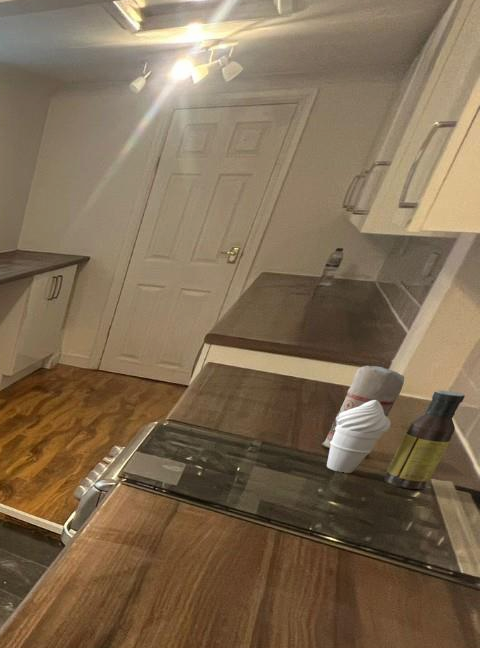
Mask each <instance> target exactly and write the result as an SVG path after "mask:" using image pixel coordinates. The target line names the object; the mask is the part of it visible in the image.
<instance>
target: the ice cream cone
mask: <svg viewBox="0 0 480 648" xmlns="http://www.w3.org/2000/svg"><path fill="white" fill-rule="evenodd" d="M335 420H336V421H337V423H336V424H337V426H336V428H335V430H336V431H335V433H334V436H333V439H332V441H331V442H330V444H331V446H330V448H329V451H328V457H327V461H326V467H327V469H330V470H331V471H334V472H337V471H338V473H342V472H344V473H343V474H351V473H353V472H354V471H355V470H356V469H357V467H358V466H359V465H360V464H361V463H362V462H363V461H364V459H366V457H367V456H368V455H369V454H370V453H372V451H373V450H372V449H373V448H374V447H375V445H376V444H377V442H378V440H380V439H381V438H382V436H383V435H384V434H385V433H387V432H388V431H389V430H390V427H391V425H392V424H391V423H392V422H391V420H390V419H389V417H388V416H387V417H386V416H385V415H384V411H383V408H382V406H381V404H380V403H379V402H378V401H377V400H372V401H369V402H367V403H364V404H363V405H361V406H359V407H356V408H352V409H349V410H347V411H345V412H342V413H340V414H339V416H338V417H337V416H336V417H335Z"/></svg>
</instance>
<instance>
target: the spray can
mask: <svg viewBox="0 0 480 648" xmlns="http://www.w3.org/2000/svg"><path fill="white" fill-rule="evenodd" d="M353 377H354V378H353V381H352V383H351V385H350V387H349V388H348V389H347V392H346V393H347V394H346V396H345V399H344V401H343V403H342V405H341V407H340V409H339V411H338V413H337V415H336V417H338V416H339V414H340V413H342V412H345V411H347V410H349V409H352V408H356V407H359V406H361V405H363V404H364V403H367V402H369V401H372V400H377V401H378V402H379V403H380V404H381V406H382V408H383V411H384V415H385V416H386V417H387V418H388V416H389V413H390V412H391V410H392V409H393V406H394V404H395V402H396V401H397V400H398V398H399V396H400V394H401V391H402V389H403V386H404V382H405V376H404V374H403V375H402V374H400V373H399V372H397V371H395V370H392V369H388V368H386V367H383V366H376V365H371V366H370V365H363V366H361V367H360V368H358V369H357V371H356V373H355V375H354V376H353ZM336 423H337V421H336V419H334V422H333V423H332V426H331V428H330V430H329V432H328V434H327V436H326V438H325V441H324V442H322V443H321V445H322V446H323V447H325V448H328V449H330V446H331V444H330V442H331V441H332V439H333V436H334V433H335V431H336V430H335V428H336V426H337V424H336Z"/></svg>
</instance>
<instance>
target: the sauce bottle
mask: <svg viewBox="0 0 480 648" xmlns="http://www.w3.org/2000/svg"><path fill="white" fill-rule="evenodd" d="M465 398H466V397H465V394H463V393H461V392H455V391H451V390H435V391H434V392H433V394H432V397H431V401H430V402H429V405H428V406H427V408H426V409H425V412H424V413H423V414H422V415H420V416H418V417H416V418H415V419H414V420H413V421H411V423H410V425H409V427H408V429H407V431H406V432H405V433H404V436H403V437H402V440H401V442H400V443H399V445H398V447H397V450H396V451H395V453H394V456H393V458H392V459H391V462H390V463H389V465H388V467H387V469H386V473H385V475H384V478H383V479H384V482H385V483H387V484H390V485H392V486H394V487H398V488H402V489H409V490H421V489H424V488H425V487H426V484H427V482H428V481H430V480H431V478H432V476H433V474H434V472H435V470H436V468H437V466H438V465H439V463H440V461H441V459H442V457H443V455H444V453H445V451H446V449H447V447H448V446H449V444H450V442H451V440H452V437H453V435H454V433H455V430H456V426H455V423H454V420H453V418H454V416H455V414H456V411H457V410H458V407H459V405H460V404H461V403H463V401H464V399H465Z"/></svg>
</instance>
